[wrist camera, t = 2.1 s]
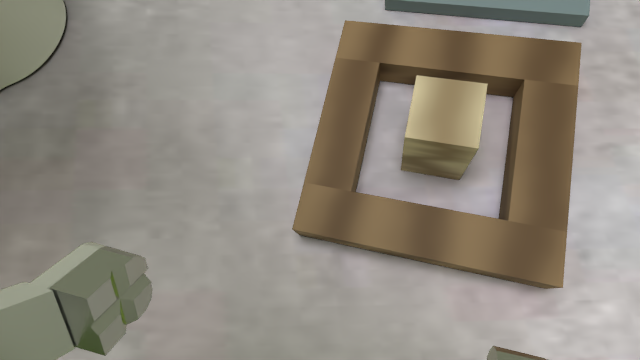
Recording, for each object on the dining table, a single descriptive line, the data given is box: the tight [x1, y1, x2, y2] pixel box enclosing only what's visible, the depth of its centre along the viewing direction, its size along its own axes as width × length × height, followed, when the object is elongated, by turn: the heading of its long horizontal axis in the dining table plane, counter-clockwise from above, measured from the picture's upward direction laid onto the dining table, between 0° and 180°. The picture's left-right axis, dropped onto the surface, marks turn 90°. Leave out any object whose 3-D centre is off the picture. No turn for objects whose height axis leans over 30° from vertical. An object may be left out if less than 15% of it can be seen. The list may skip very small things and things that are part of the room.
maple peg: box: [401, 75, 488, 180], centre depth 32 cm, size 5×5×8 cm
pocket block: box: [292, 21, 581, 289], centre depth 34 cm, size 20×20×3 cm
